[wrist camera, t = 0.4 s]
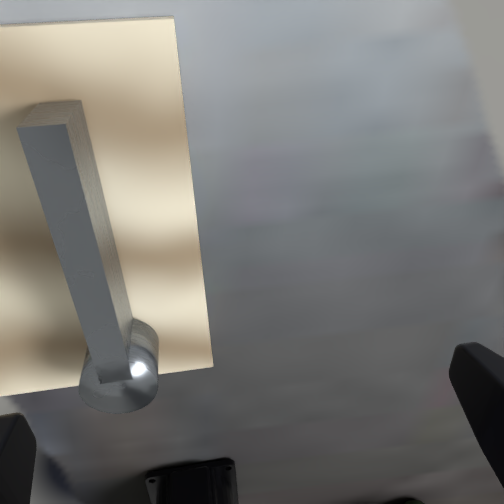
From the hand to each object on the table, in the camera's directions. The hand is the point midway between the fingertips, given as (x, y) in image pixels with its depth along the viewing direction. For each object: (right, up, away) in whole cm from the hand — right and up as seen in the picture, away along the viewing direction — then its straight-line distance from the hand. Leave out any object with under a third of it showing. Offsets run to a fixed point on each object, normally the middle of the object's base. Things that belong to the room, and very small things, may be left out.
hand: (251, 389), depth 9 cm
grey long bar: (-7, +2, +11) cm, 13 cm away
